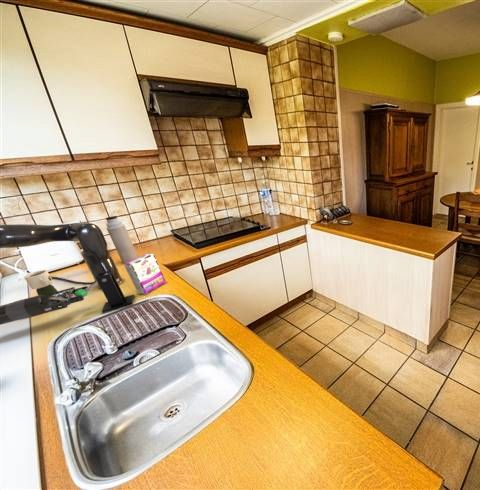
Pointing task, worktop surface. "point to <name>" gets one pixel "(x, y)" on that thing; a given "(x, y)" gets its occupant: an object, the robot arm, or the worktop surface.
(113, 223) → the thermos bottle
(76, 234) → the robot arm
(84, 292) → the switch lever
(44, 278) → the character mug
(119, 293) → the switch bracket
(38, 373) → the worktop surface
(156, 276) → the candy bar box
